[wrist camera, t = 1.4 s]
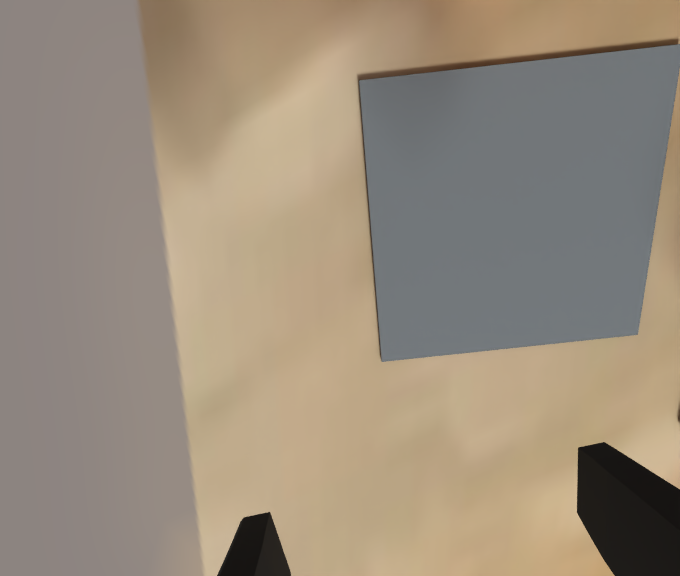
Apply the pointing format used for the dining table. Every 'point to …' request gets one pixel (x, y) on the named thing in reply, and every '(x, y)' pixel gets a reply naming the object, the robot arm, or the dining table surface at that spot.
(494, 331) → the slate mat
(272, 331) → the dining table surface
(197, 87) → the dining table surface
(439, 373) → the dining table surface
